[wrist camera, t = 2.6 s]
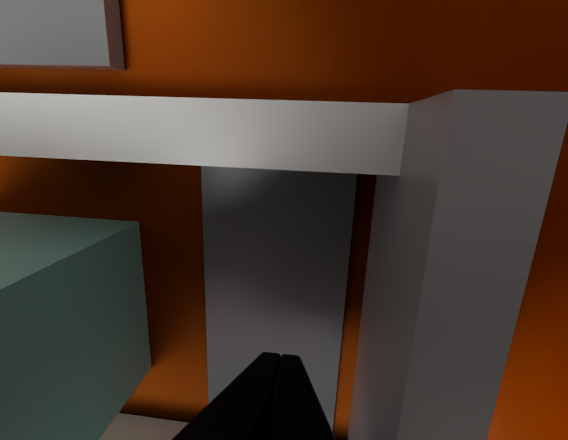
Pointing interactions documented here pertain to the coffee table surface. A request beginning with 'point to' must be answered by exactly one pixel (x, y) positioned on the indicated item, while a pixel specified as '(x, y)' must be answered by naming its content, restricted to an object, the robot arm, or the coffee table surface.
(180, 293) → the coffee table surface
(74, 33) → the coaster
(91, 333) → the block
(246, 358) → the channel
